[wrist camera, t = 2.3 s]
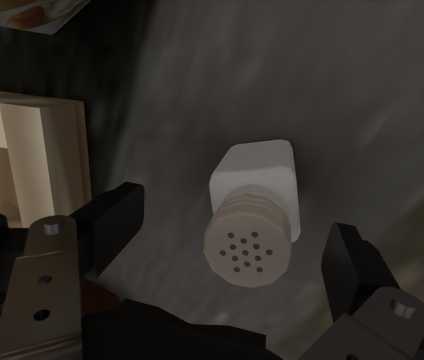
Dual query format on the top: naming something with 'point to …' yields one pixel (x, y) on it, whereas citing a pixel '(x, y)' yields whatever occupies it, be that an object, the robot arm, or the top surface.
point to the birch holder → (42, 158)
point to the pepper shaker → (253, 213)
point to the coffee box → (38, 14)
